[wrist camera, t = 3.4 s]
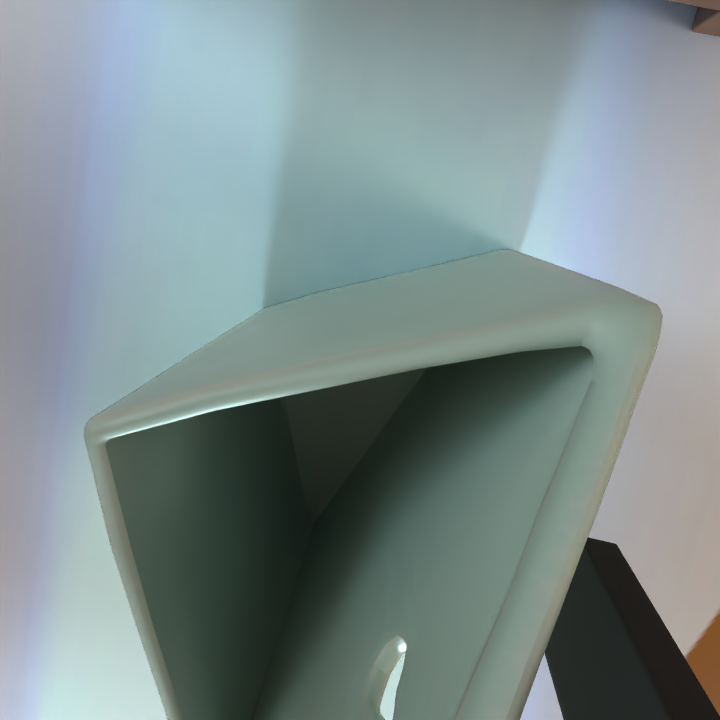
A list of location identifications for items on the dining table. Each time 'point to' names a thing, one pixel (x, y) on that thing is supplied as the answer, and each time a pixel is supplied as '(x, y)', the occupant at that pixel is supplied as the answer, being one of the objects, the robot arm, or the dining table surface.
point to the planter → (372, 491)
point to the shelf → (705, 15)
